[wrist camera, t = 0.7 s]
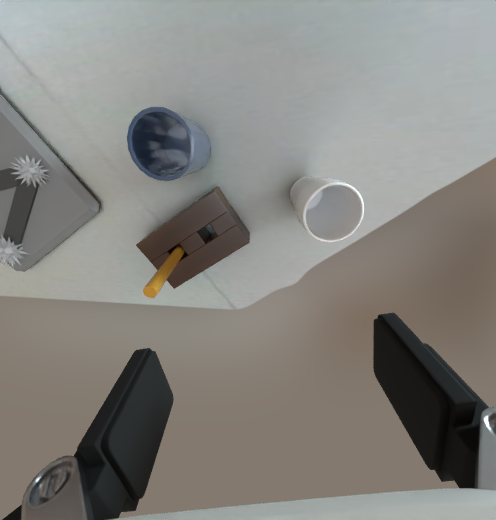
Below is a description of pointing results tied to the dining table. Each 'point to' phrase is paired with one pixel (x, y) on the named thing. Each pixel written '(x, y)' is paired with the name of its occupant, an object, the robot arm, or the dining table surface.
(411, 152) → the dining table surface
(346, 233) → the drinking glass
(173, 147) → the tumbler
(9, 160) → the decorative plate
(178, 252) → the orange rod
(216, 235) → the brown wooden block
